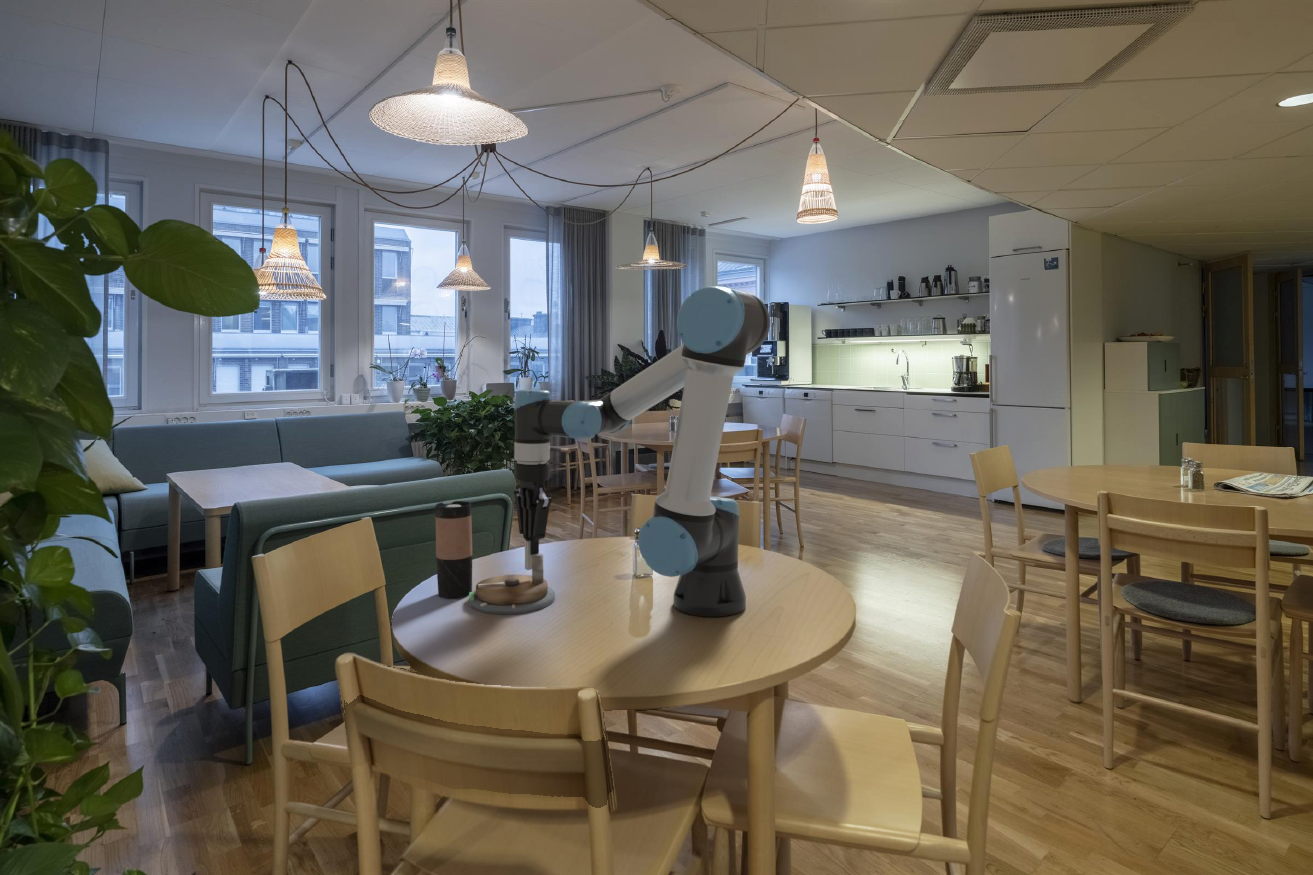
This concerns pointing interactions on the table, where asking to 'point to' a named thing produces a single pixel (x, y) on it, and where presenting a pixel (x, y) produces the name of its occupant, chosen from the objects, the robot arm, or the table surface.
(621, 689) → the table surface
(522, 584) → the dial
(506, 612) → the gauge plate
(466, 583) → the travel mug
